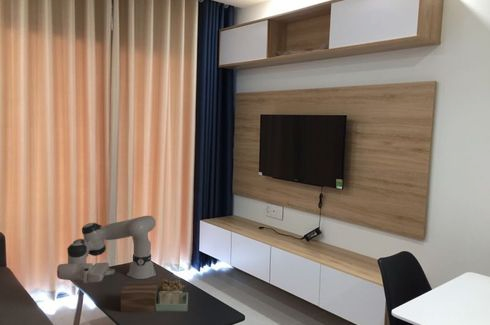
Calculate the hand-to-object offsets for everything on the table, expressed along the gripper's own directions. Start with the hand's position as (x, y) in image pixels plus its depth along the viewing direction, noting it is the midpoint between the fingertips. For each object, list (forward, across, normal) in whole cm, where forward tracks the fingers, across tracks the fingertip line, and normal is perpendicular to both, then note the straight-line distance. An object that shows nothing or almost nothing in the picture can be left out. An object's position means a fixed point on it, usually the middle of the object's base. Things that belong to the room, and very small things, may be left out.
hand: (114, 271), depth 230 cm
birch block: (+25, -2, -16) cm, 30 cm away
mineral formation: (+31, -16, -20) cm, 40 cm away
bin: (+32, 0, -20) cm, 37 cm away
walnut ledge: (+14, 0, -19) cm, 24 cm away
